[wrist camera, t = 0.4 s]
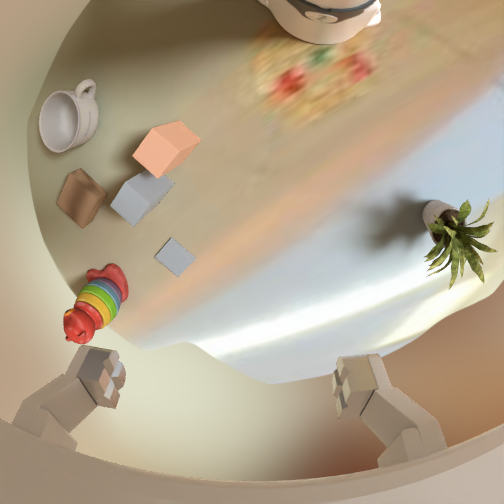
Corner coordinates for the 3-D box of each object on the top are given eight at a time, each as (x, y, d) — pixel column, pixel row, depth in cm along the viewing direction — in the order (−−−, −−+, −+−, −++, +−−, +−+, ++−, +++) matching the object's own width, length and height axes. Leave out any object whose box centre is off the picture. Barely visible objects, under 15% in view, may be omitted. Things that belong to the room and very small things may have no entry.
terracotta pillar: (161, 143, 45) (132, 156, 36) (179, 120, 43) (152, 127, 34) (182, 162, 46) (157, 178, 38) (201, 140, 44) (179, 151, 36)
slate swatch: (155, 256, 56) (154, 257, 56) (171, 237, 54) (171, 238, 53) (178, 275, 58) (177, 276, 57) (196, 258, 55) (195, 259, 55)
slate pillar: (139, 185, 49) (110, 205, 41) (153, 165, 47) (125, 181, 38) (159, 203, 50) (133, 227, 42) (174, 183, 48) (150, 204, 40)
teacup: (80, 153, 47) (54, 165, 40) (56, 112, 43) (29, 119, 36) (128, 109, 42) (102, 113, 36) (101, 64, 38) (73, 64, 31)
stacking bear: (117, 261, 58) (72, 314, 43) (138, 298, 63) (102, 355, 47) (85, 270, 61) (42, 318, 46) (106, 304, 65) (70, 355, 50)
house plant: (400, 166, 42) (445, 200, 28) (467, 169, 39) (522, 203, 25) (394, 244, 49) (425, 301, 34) (457, 242, 46) (498, 292, 32)
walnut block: (68, 196, 52) (56, 203, 49) (81, 167, 49) (69, 173, 45) (93, 220, 54) (82, 228, 51) (108, 192, 51) (97, 199, 47)
